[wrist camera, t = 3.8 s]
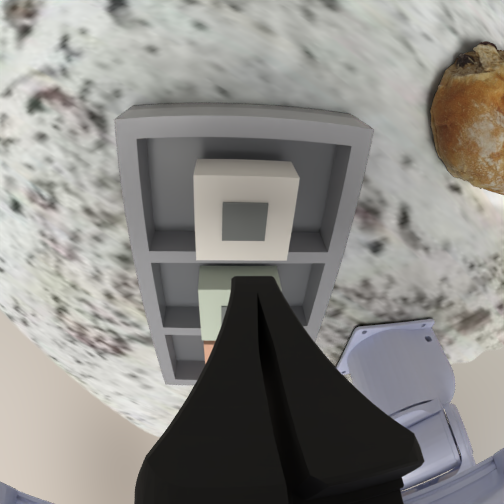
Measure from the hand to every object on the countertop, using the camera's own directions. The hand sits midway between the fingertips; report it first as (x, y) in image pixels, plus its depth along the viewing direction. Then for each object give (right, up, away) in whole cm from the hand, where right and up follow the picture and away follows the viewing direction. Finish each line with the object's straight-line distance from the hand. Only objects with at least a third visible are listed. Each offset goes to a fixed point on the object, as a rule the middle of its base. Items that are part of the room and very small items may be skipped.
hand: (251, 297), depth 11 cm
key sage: (-1, -1, +9) cm, 9 cm away
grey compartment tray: (-1, +1, +11) cm, 11 cm away
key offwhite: (0, +4, +5) cm, 7 cm away
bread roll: (+16, +11, +5) cm, 20 cm away
